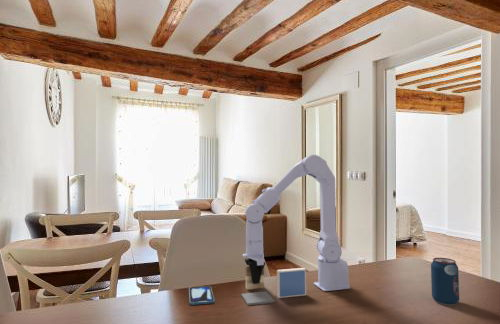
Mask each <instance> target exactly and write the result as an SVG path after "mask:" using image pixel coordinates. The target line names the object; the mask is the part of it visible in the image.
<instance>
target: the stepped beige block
mask: <svg viewBox="0 0 500 324" xmlns="http://www.w3.org/2000/svg"><path fill="white" fill-rule="evenodd" d="M244 267H245V289H246V290H256V289H264V288H265V267H264V268H263V270H262V273H261V278H260V282H259V283H257V284H253V282H252V276H251V271H250V267H249V265H247V264H245V266H244Z"/></svg>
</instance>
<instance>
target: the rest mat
mask: <svg viewBox="0 0 500 324" xmlns="http://www.w3.org/2000/svg"><path fill="white" fill-rule="evenodd" d="M240 295H241V298H242V300H244V302H245V303H246V305H247V306H254V305H257V306H258V305H264V304H273V303H275V300H274V298H273V297H272V296H271V295H270V294H269V293H268V292H267V291H258V292H257V291H255V292H248V293H241V294H240Z"/></svg>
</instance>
